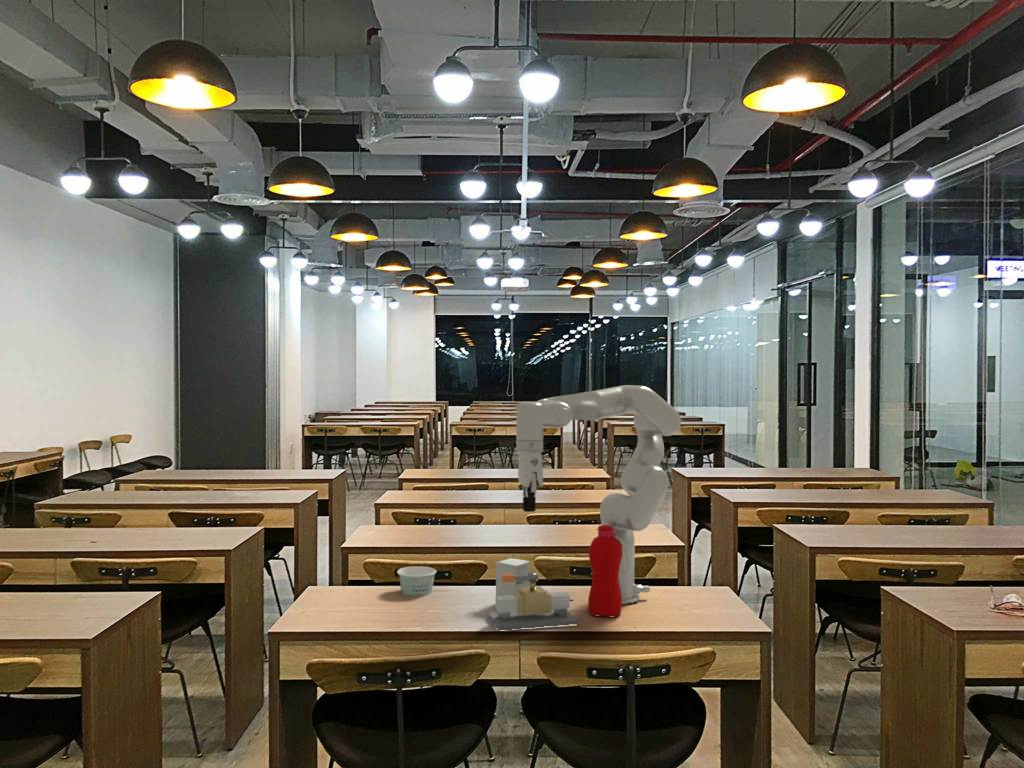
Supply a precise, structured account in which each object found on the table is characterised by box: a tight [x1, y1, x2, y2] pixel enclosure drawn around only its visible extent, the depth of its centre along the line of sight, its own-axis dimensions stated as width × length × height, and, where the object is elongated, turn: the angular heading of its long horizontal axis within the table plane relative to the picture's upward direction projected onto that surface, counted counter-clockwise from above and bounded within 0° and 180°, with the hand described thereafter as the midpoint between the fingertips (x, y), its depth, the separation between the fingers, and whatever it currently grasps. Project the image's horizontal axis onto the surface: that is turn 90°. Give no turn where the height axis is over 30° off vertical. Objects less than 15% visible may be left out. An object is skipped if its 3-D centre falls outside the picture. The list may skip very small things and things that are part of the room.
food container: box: [396, 565, 437, 597], centre depth 268 cm, size 12×12×6 cm
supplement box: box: [495, 557, 531, 596], centre depth 255 cm, size 7×7×13 cm
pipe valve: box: [494, 581, 571, 621], centre depth 238 cm, size 20×6×10 cm, turn 104°
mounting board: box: [487, 609, 579, 632], centre depth 238 cm, size 22×12×2 cm, turn 104°
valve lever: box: [501, 571, 539, 583], centre depth 237 cm, size 10×3×2 cm, turn 101°
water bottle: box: [587, 524, 628, 617], centre depth 246 cm, size 9×11×25 cm
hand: (529, 510), depth 245 cm, fingers closed
